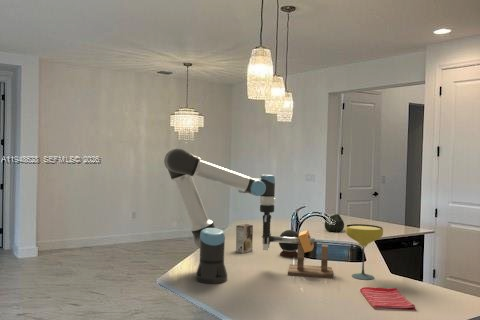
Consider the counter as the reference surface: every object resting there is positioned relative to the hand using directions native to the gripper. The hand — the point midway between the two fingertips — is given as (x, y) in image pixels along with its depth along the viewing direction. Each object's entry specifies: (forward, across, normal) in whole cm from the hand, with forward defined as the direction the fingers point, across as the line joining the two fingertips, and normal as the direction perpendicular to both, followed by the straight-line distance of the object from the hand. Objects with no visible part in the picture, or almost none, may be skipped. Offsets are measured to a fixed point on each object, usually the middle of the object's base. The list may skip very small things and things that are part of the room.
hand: (266, 248), depth 232 cm
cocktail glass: (+11, -2, -49) cm, 50 cm away
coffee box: (+11, +40, +18) cm, 45 cm away
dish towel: (+12, -37, -55) cm, 67 cm away
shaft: (-3, 0, -12) cm, 12 cm away
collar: (-1, 0, -22) cm, 22 cm away
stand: (+11, 0, -23) cm, 25 cm away
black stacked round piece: (+11, +37, -10) cm, 40 cm away
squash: (+11, +132, -39) cm, 138 cm away
